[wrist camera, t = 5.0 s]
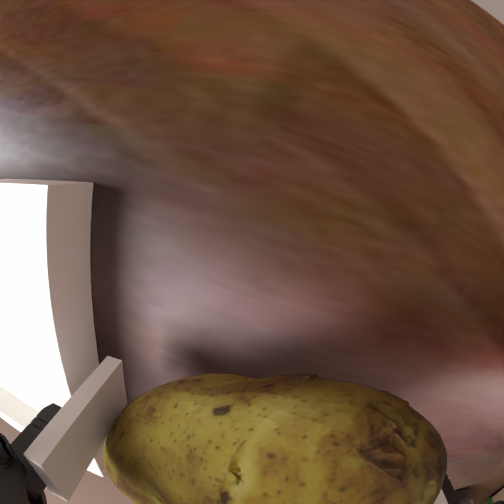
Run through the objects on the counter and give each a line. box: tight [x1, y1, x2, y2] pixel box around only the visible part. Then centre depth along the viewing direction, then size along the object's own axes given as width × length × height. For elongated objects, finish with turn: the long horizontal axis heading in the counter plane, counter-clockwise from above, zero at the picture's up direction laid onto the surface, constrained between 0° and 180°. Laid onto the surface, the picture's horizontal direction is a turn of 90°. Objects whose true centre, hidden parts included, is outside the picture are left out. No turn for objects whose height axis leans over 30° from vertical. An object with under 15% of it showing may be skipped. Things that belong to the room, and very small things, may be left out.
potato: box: [103, 373, 447, 504], centre depth 7 cm, size 8×13×8 cm, turn 96°
